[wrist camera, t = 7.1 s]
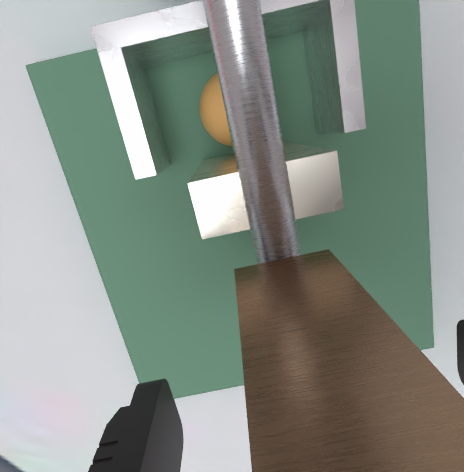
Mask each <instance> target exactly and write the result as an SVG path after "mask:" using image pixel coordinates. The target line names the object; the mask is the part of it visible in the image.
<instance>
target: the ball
mask: <svg viewBox="0 0 464 472" xmlns="http://www.w3.org/2000/svg"><path fill="white" fill-rule="evenodd" d="M199 111H200V117H201V121H202V123H203V125H204V127H205V129H206V131H207V132H208V133H209V134H210V136H211V137H212V138H214V139H215V140H216V141H218V142H219V143H221V144H224V145H226V146H230V147H233V145H232V140H231V136H230V131H229V126H228V121H227V116H226V111H225V107H224V102H223V97H222V92H221V87H220V82H219V78H218V73H216V74H215V75H213V76H212V77H211V78H210V79H209V81H208V82H207V83H206V85H205V86H204V88H203V91H202V93H201V97H200V103H199Z"/></svg>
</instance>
